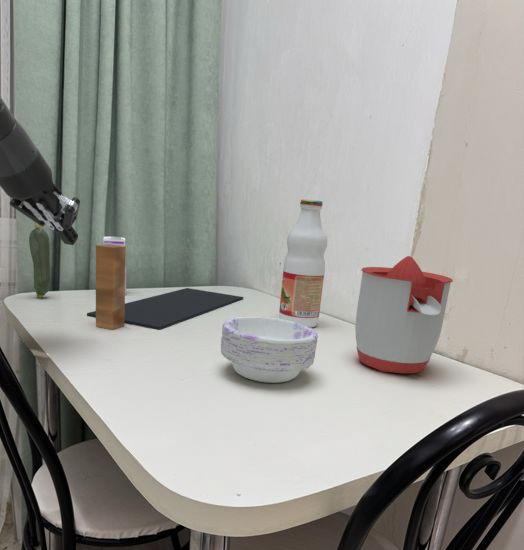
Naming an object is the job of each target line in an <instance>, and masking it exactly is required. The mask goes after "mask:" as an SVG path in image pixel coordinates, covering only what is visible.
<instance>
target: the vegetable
mask: <svg viewBox="0 0 524 550" xmlns="http://www.w3.org/2000/svg"><path fill="white" fill-rule="evenodd" d="M33 225H34V226H33V227H34V229H32V230H31V231H30V233H29V236H28V245H29V251H30V255H31V259H32V264H33V288H34V291H35V294H36V297H38V298H40V299H41V298H43V297H44V296H46V294H47V293H48V292H49V291H50V286H51V248H50V245H51V243H50V237H49V235H48V232H47V231H46V230H45V229H44V227H45V225H44V226H40V225H39V224H37V223H36V222H34V221H33Z"/></svg>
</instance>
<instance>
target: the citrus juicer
mask: <svg viewBox="0 0 524 550" xmlns="http://www.w3.org/2000/svg"><path fill="white" fill-rule="evenodd" d="M421 269H422V268H421V267H420V266H419V264H418V263H417V261H416V260H415V259H414V258H413V257H412V256H410V255H408V256H405V257H404V258H402V259H401V260H399V261H398V262H397V263H396V264H395V265H394V266H393V267H387V266H386V267H385V266H365V267H362V268H361V270H360V271H361V272H362V274H361V279H360V286H359V287H360V288H359V294H358V301H357V307H356V314H355V324H354V327H355V328H354V329H355V330H354V331H355V341H356V352H357V355H358V359H359V361H360V362H361V363H362V364H363V365H366V366H368V367H370V368H373V369H376V370H377V371H379V372H380V373H395V374H417V373H421V372H422V371H424V369H425V368H426V366H428V364H429V362H430V360H431V357H432V355H433V353H434V351H435V350H436V347H437V344H438V342H439V339H440V337H441V332H442V328H443V323H444V319H445V313H446V308H447V304H448V299H449V293H450V289H451V283H453V281H454V280H453V278H451V277H448V276H447V275H443V274H438V273H433V272H427V271H422V270H421Z"/></svg>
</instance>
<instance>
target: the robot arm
mask: <svg viewBox="0 0 524 550" xmlns="http://www.w3.org/2000/svg"><path fill="white" fill-rule="evenodd" d="M0 188H1V189H2V191H3V192H4V193H5V194H6V195H7V197H9V198H11V200H10V201H9V205H10V206H11V207H12V208H14V209H15V210H17V211H18V212H19V213H21V214H23V215H24V216H26V217H27V218H29V219H30V220H32V221H33V223H34V222H36V223H37V224H39V225H40V226H44V227H45V226H46V227H48V229H49V230H51V231H54V232H55V234H56V235H57V236H58V238H59V239H60V240H61V241H62V243H63V244H64V245H70V246H74V245H75V244H76V242H77V240H78V239H79V234H78V233H77V231H76V229H74V227H73V224H74V223H75V222H76V220H77V219H78V214H79V210H80V206H81V200H80V199H79V198H78V197H74V196H73V197H72V199H70V198H69V197H66V196H64V195H63V190H62V189H60V187H58V186H57V185H56V184H55V183H54V180H53V172H52V168H51V167H50V165H49V164H48V163H47V161H46V160H45V158H44V157H43V155H42V153H41V152H40V150H39V149H38V147H37V146H36V144H35V143H34V142H33V140H32V139H31V136H30V135H29V134H28V133H27V131H26V130H25V128H23V126H22V124H21V123H19V122H18V120H17V119H16V118H15V116H14V114H13V113H12V112H11V110H10V108H9V107H8V106H7V104H6V103H5V101H4V100H3V98H2V97H1V96H0Z"/></svg>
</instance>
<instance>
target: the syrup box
mask: <svg viewBox="0 0 524 550" xmlns="http://www.w3.org/2000/svg"><path fill="white" fill-rule="evenodd" d="M126 243H127V242H126V237H122V236H103V237H102V245H104V244H111V245H118V246H125V247H126V246H127V245H126ZM126 248H127V247H126ZM126 294H127V250H126V251H125V296H126Z"/></svg>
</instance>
